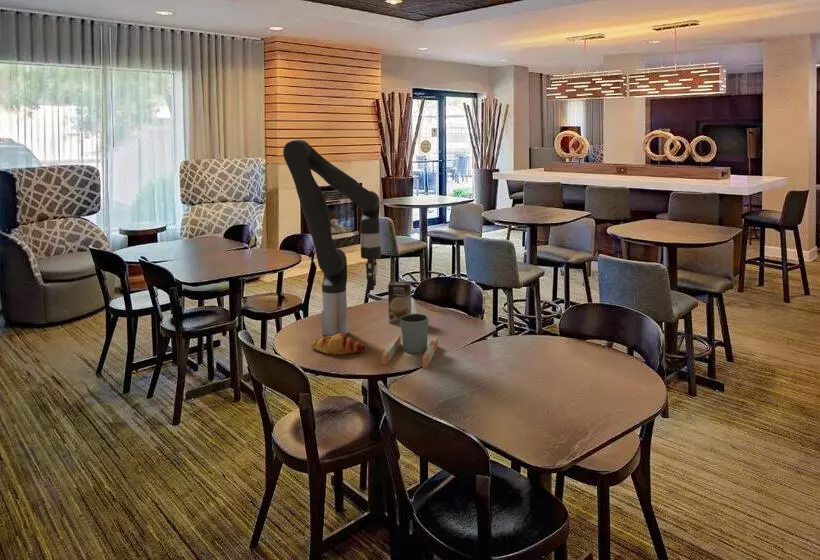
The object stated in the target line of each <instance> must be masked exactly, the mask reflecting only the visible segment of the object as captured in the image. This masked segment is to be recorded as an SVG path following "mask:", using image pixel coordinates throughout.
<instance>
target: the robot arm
mask: <svg viewBox="0 0 820 560" xmlns="http://www.w3.org/2000/svg"><path fill="white" fill-rule="evenodd" d="M282 153H283V158H284V161H285V163H286V165H287V167H288V170H289V172H290V175H291V177H292V179H293V182H294V185H295V189H296V194H297V195H298V196H297V197H298V199H299V203H300V205H301V206H300V207H301V210H302V213H303V216H304V219H305V221H306V225H307V228H308V231H309V233H310V236H311V238H312V239H311V240H312V242H313V245H314V246H313V247H314V250H315V253H316V260H317V263H318V264H317V265H318V268H319V269H320V270H321V272H322V273H323V277H322V278H323V280H322V284H321V294H322V295H321V296H322V297H321V298H322V299H321V300H322V310H321V311H320V313H321V315H320V317H321V333H322V334H321V335H322V336H325V337H327V336H334V335H336V334H340V333H342V334H345V335H346V336H347V334H349V330H348V329H349V326H348V322H349V321H348V301H347V282H348V260H347V259H348V258H347V256H346V254H345V252H344V251H343V250H342V249H341V248H339V247H336V245H335V243H334V239H333V235H332V229H331V226H332V225H331V216H330V211H329V210H330V209H329V207H328V204H327V201H326V198H325V196H324V193H323V191H322V189H321V188H320V186H319V184H318V182H317V181H316V180H315V178H314V176H313V172H314V173H316V174H317V175H318V176H319V177H321V178H322V179H323V180H324V181H325V182H326V184H328V185H329V186H330V187H331V188H333V190H336V191H337V192H338V193H340V194H341V195H343V196H345V197H346V198H348V199H349V200H350V201H351V202H352V203H353V204H355V205H356V206H357V207H359V208H360V209H361V219H360V240H359V242H360V258H361V259H363V260H366V261H367V262H366V263H365V274H366V280H367V290H368V291H374V290H375V286H377V273H378V272H377V271H378V269H377V268H378V262H377V259H380V258H382V247H381V242H382V241H381V234H380V233H381V232H380V231H381V230H380V210H381V209H380V208H381V207H380V206H381V205H380V204H381V203H380V201H381V200H380V197H379V195H378V193H376V192H375V191H373V190H368V189H367V188H365V187H364V186H362V185H361V184H360V183H359V182H358V181H357V180H356V179H355V178H353V177H351V176H350V175H349V174H348V173H346V172H345V171H343V170H341V169H340V168H339V167H336V166H335V165H333V163H331V162H329V160H328V159H325V158H324V157H323V156H322V155H321V154H320V153H319V152H317V150H316V149H315V148H314V147H312V146H311V144H309V143H308V142H307V141H306V140H302V139H293V140H292V139H291V140H289V141H288V142H287V143H285V145H284V146H283V151H282ZM312 171H313V172H312Z"/></svg>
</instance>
